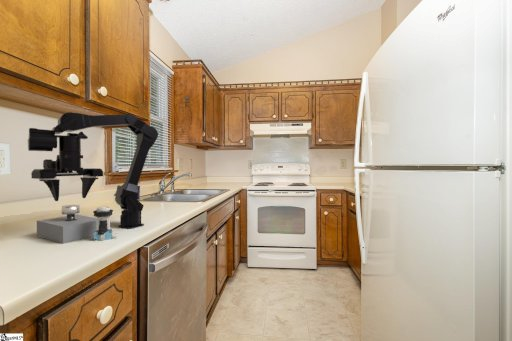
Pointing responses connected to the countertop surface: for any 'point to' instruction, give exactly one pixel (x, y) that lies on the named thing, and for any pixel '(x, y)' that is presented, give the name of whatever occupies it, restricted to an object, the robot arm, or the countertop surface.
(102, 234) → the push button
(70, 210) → the knob
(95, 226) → the panel
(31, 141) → the robot arm
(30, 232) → the countertop surface
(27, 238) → the countertop surface
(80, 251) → the countertop surface
